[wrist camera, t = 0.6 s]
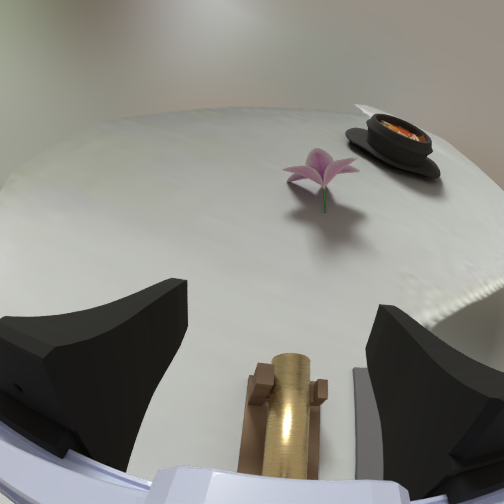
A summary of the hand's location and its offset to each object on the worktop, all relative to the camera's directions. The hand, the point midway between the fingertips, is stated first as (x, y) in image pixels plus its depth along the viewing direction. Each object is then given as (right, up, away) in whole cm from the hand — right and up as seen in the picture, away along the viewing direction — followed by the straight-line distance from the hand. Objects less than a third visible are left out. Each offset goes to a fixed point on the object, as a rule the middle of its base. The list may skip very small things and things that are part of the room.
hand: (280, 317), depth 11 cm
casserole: (+32, +25, +54) cm, 68 cm away
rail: (+1, -12, +6) cm, 13 cm away
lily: (+9, +11, +37) cm, 40 cm away
